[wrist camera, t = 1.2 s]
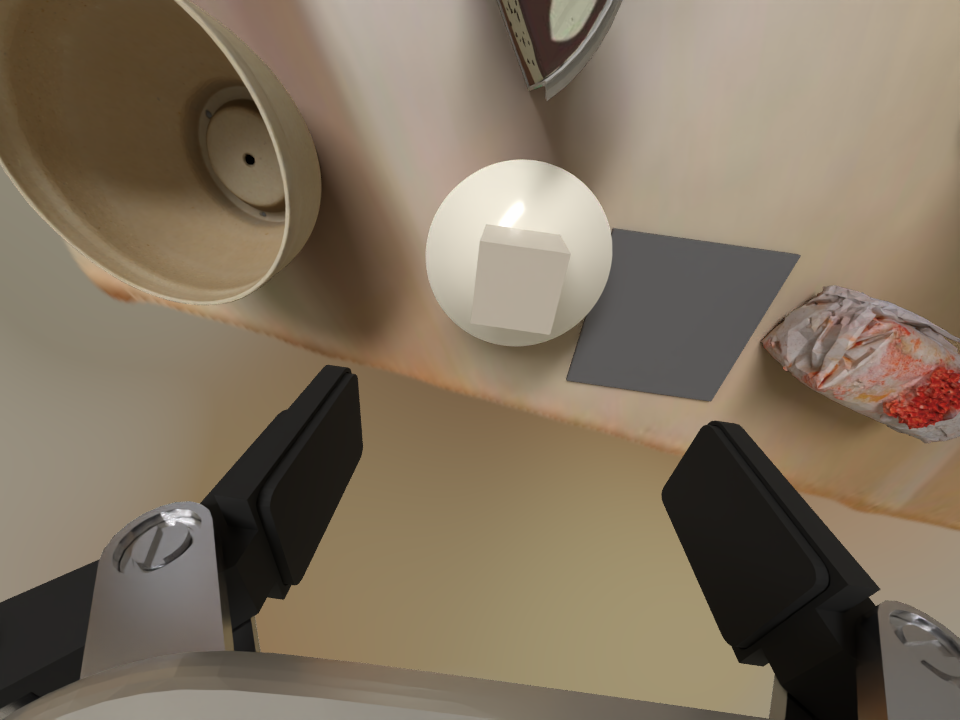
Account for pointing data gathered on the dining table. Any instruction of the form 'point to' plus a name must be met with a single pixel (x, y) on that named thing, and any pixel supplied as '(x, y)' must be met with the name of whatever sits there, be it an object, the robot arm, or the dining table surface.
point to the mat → (675, 313)
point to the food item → (874, 361)
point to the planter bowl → (155, 144)
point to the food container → (556, 37)
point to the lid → (519, 252)
